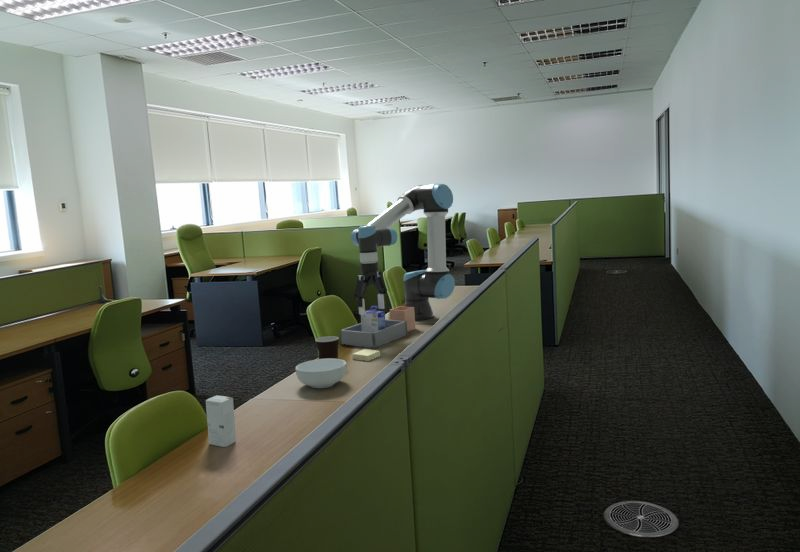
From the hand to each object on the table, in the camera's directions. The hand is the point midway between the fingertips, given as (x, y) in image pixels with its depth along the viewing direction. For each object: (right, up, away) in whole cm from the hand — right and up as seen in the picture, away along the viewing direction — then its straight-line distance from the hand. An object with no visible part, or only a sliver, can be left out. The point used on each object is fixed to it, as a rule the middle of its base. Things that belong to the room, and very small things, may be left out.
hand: (372, 311), depth 265 cm
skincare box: (-34, -29, -102) cm, 112 cm away
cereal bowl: (-14, -21, -58) cm, 63 cm away
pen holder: (+14, -9, +16) cm, 23 cm away
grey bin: (+1, -12, +2) cm, 12 cm away
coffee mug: (-14, -18, -33) cm, 40 cm away
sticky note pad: (-1, -17, -27) cm, 32 cm away
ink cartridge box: (+1, -12, +2) cm, 13 cm away
